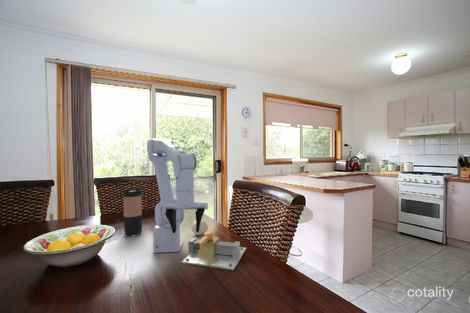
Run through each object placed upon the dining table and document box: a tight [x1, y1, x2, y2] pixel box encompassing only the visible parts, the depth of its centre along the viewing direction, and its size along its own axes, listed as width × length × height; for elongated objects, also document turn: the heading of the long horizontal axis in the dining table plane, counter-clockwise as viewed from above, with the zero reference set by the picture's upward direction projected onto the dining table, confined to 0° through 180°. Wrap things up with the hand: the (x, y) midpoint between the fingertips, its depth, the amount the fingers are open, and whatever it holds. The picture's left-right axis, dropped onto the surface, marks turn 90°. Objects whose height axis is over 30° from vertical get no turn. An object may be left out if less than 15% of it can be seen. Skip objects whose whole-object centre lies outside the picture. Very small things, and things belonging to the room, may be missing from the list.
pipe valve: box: [187, 236, 241, 257], centre depth 81 cm, size 18×6×5 cm, turn 74°
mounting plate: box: [180, 246, 247, 271], centre depth 80 cm, size 18×16×1 cm
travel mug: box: [122, 188, 143, 237], centre depth 105 cm, size 8×8×20 cm
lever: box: [193, 231, 214, 250], centre depth 78 cm, size 12×3×2 cm, turn 164°
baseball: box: [191, 219, 209, 236], centre depth 102 cm, size 7×7×7 cm
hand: (186, 231), depth 75 cm, fingers open, 7 cm apart
